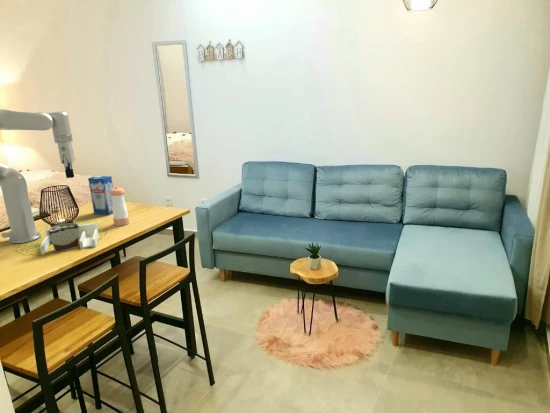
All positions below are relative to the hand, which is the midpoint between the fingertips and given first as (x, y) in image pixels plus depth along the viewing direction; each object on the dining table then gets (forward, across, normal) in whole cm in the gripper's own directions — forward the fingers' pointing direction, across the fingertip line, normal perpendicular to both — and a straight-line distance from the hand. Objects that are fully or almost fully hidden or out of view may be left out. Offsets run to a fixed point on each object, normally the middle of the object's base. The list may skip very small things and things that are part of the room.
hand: (70, 177), depth 195 cm
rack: (+25, -25, 0) cm, 35 cm away
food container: (+25, -28, +2) cm, 38 cm away
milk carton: (+25, +20, -11) cm, 34 cm away
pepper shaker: (+25, -4, -20) cm, 32 cm away
